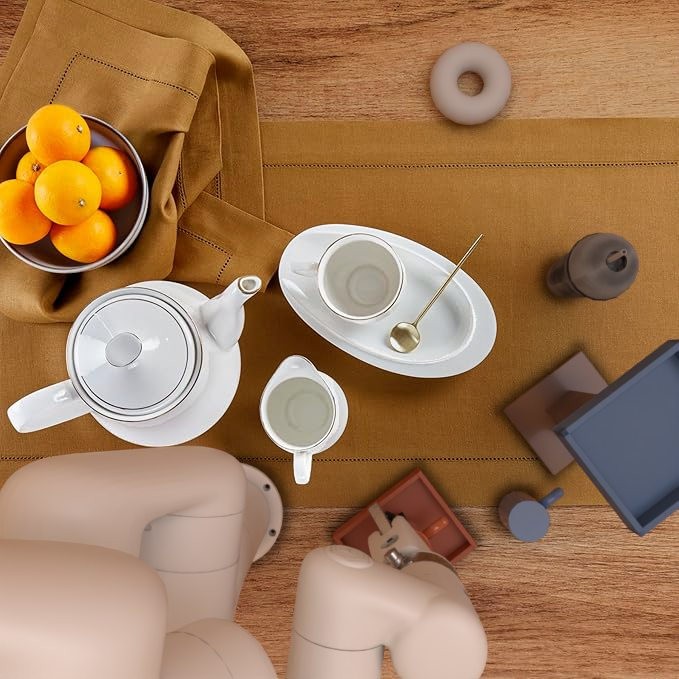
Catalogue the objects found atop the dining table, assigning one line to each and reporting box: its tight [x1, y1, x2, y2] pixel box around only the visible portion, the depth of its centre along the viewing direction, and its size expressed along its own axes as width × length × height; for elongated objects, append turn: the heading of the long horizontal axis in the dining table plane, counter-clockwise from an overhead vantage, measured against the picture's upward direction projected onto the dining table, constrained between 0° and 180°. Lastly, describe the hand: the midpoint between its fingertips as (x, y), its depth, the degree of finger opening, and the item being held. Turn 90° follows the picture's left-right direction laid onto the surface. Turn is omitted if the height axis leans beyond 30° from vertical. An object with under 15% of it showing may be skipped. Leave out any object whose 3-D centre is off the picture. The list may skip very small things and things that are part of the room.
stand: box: [501, 350, 610, 477], centre depth 69 cm, size 12×10×22 cm
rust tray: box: [332, 466, 479, 566], centre depth 78 cm, size 13×11×2 cm
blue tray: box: [552, 338, 679, 538], centre depth 57 cm, size 13×11×2 cm
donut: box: [429, 41, 513, 126], centre depth 79 cm, size 10×4×10 cm
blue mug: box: [497, 486, 565, 543], centre depth 77 cm, size 8×5×5 cm, turn 127°
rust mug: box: [406, 517, 449, 551], centre depth 76 cm, size 8×5×5 cm, turn 127°
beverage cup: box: [545, 232, 640, 302], centre depth 70 cm, size 7×7×20 cm
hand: (407, 540), depth 78 cm, fingers closed on rust mug, 4 cm apart
